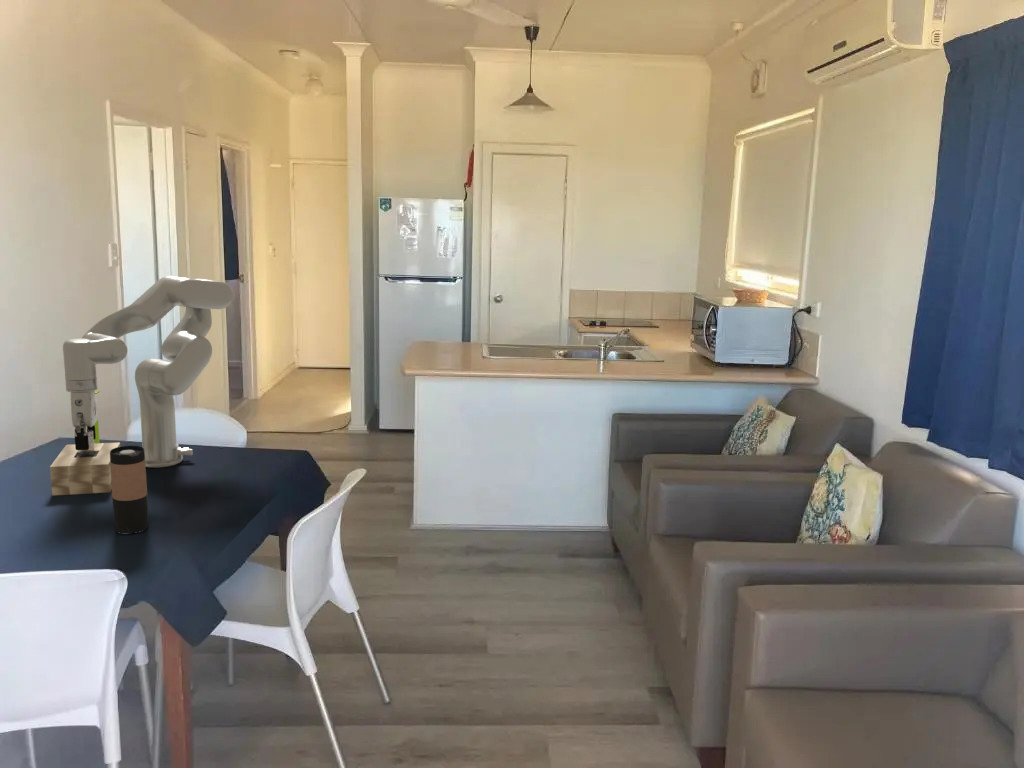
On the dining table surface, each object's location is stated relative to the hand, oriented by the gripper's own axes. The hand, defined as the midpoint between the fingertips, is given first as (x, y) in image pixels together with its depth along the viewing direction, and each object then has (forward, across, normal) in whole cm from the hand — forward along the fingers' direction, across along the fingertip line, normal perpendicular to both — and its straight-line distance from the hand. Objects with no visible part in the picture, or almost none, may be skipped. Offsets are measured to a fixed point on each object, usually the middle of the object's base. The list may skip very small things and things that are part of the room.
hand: (85, 444), depth 225 cm
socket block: (+11, 0, 0) cm, 11 cm away
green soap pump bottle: (+11, +27, +4) cm, 29 cm away
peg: (+3, 0, 0) cm, 3 cm away
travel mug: (+11, -37, -16) cm, 42 cm away
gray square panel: (+4, 0, 0) cm, 4 cm away
